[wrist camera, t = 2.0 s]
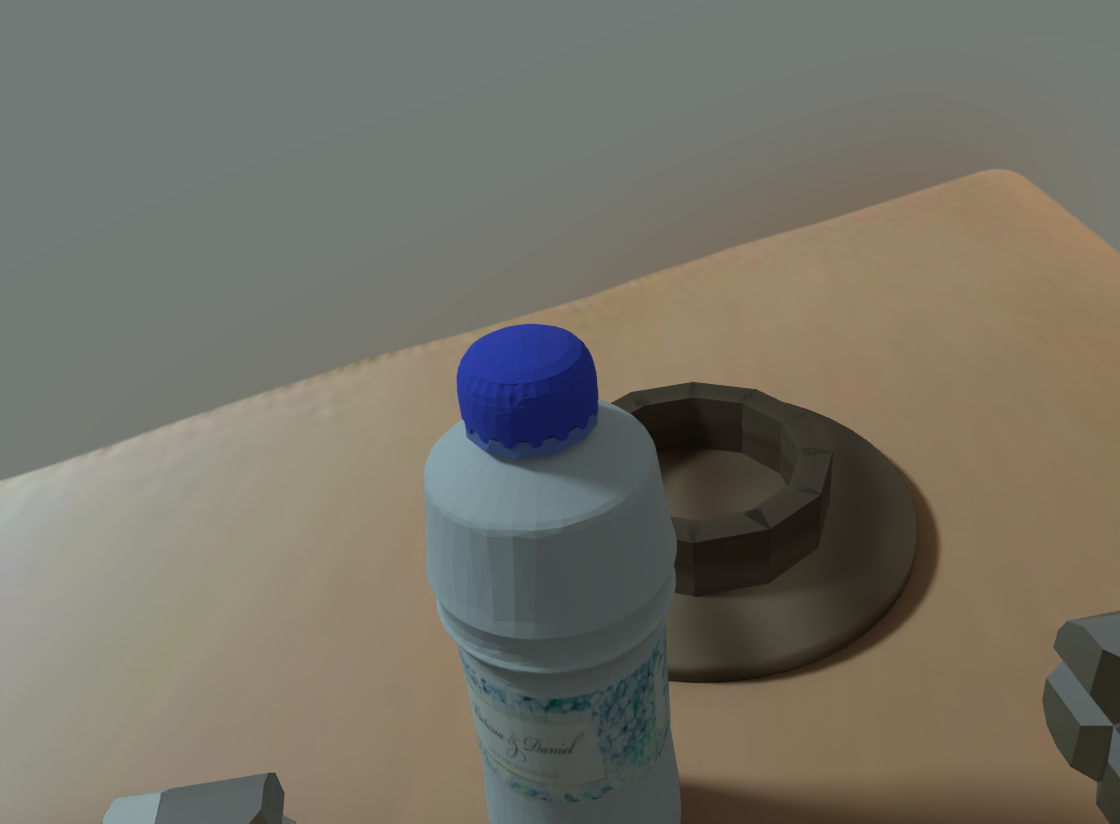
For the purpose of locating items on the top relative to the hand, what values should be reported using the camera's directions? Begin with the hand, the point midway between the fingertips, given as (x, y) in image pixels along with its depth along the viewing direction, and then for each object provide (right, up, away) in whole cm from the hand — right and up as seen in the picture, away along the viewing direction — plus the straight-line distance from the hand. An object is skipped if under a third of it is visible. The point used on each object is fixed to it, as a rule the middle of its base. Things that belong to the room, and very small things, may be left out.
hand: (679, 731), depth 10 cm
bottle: (0, -12, +24) cm, 27 cm away
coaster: (+5, -2, +38) cm, 38 cm away
